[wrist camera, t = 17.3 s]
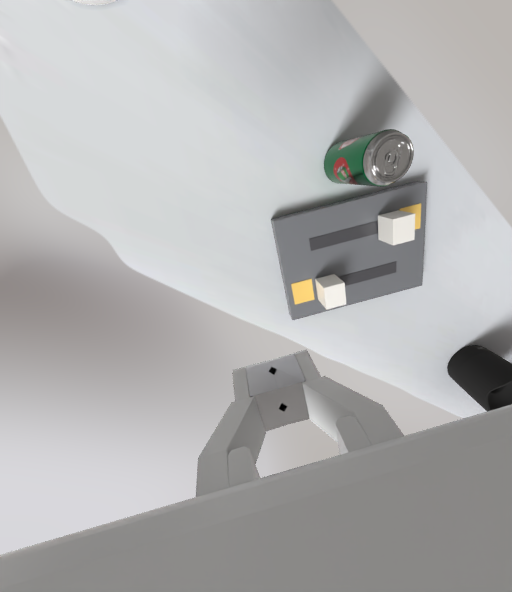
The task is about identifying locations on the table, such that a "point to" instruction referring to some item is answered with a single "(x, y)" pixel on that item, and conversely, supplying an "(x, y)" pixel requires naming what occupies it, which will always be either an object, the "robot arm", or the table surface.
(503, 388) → the pen holder
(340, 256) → the switch panel
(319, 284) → the block
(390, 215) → the block
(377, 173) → the soda can
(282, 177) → the table surface
